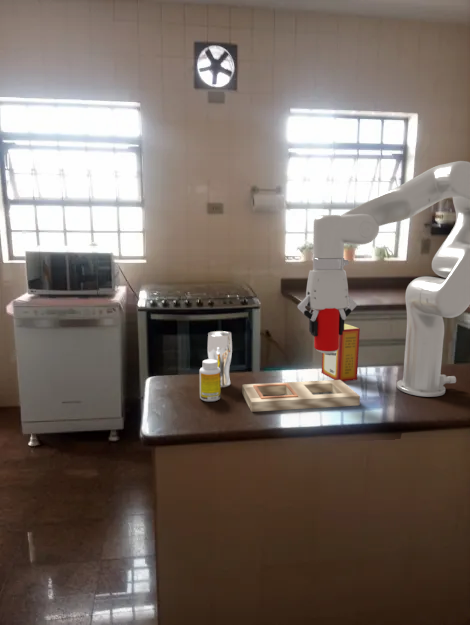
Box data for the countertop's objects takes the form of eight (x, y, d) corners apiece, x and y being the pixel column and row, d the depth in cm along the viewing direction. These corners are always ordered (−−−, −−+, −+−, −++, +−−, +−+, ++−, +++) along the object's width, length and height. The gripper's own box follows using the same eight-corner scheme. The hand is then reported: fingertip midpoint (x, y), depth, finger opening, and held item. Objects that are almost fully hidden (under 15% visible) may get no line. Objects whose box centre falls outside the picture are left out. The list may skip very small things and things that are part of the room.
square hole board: (339, 388, 128) (340, 378, 128) (359, 405, 116) (360, 394, 115) (242, 393, 124) (242, 383, 123) (251, 411, 111) (251, 400, 111)
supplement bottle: (223, 400, 118) (223, 363, 116) (203, 403, 116) (202, 365, 115) (217, 393, 123) (216, 357, 122) (197, 396, 122) (196, 359, 120)
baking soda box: (321, 372, 142) (323, 322, 140) (339, 370, 145) (341, 321, 142) (338, 382, 134) (340, 328, 131) (357, 379, 136) (359, 327, 133)
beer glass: (229, 389, 127) (229, 336, 125) (205, 387, 129) (204, 335, 126) (234, 381, 134) (234, 331, 131) (211, 379, 135) (210, 330, 133)
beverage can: (335, 355, 115) (336, 308, 112) (311, 353, 117) (312, 307, 115) (340, 349, 120) (342, 304, 118) (317, 347, 123) (318, 303, 121)
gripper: (354, 263, 120) (352, 330, 123) (290, 265, 117) (290, 333, 120) (366, 265, 112) (364, 336, 116) (299, 267, 110) (298, 339, 113)
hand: (326, 334), depth 118 cm, fingers closed on beverage can, 6 cm apart
